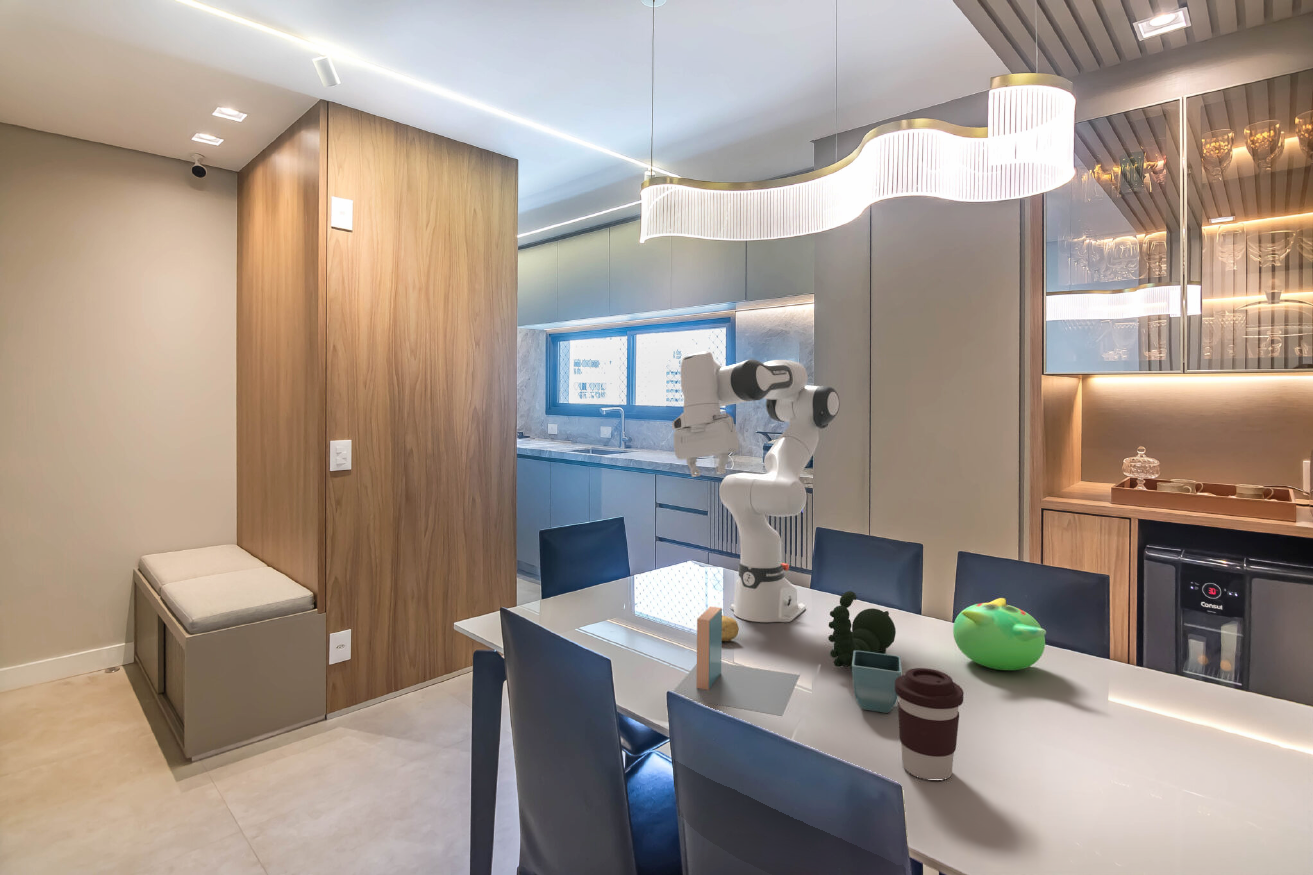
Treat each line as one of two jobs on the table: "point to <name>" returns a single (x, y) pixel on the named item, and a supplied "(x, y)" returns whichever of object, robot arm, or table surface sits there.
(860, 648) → the toy figurine
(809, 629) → the table surface
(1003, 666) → the squishy toy
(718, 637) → the block
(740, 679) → the mat
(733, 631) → the potato
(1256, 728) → the table surface
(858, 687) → the flower pot
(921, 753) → the coffee cup
